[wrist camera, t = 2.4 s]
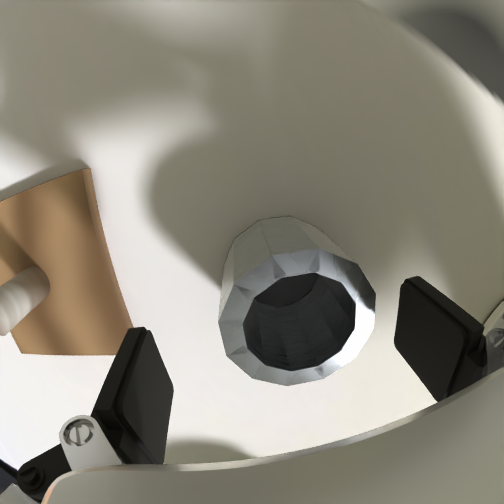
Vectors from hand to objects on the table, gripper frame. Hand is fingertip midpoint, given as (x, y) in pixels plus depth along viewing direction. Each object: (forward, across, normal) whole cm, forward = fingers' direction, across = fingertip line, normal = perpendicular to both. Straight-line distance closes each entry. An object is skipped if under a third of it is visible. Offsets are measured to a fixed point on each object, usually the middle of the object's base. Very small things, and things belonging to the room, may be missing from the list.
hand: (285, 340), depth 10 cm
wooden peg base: (+8, +15, -1) cm, 17 cm away
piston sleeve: (+7, -1, +1) cm, 7 cm away
